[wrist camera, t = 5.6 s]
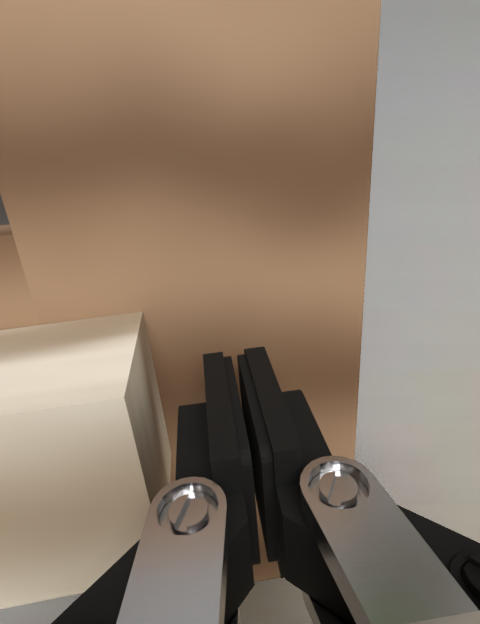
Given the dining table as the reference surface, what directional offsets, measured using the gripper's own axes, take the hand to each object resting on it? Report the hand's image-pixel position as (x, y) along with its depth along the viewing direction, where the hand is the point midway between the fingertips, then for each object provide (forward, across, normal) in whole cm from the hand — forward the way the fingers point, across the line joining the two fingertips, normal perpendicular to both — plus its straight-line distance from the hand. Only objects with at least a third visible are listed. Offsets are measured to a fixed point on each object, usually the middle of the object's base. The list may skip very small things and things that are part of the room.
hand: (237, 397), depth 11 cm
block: (+1, +5, 0) cm, 5 cm away
